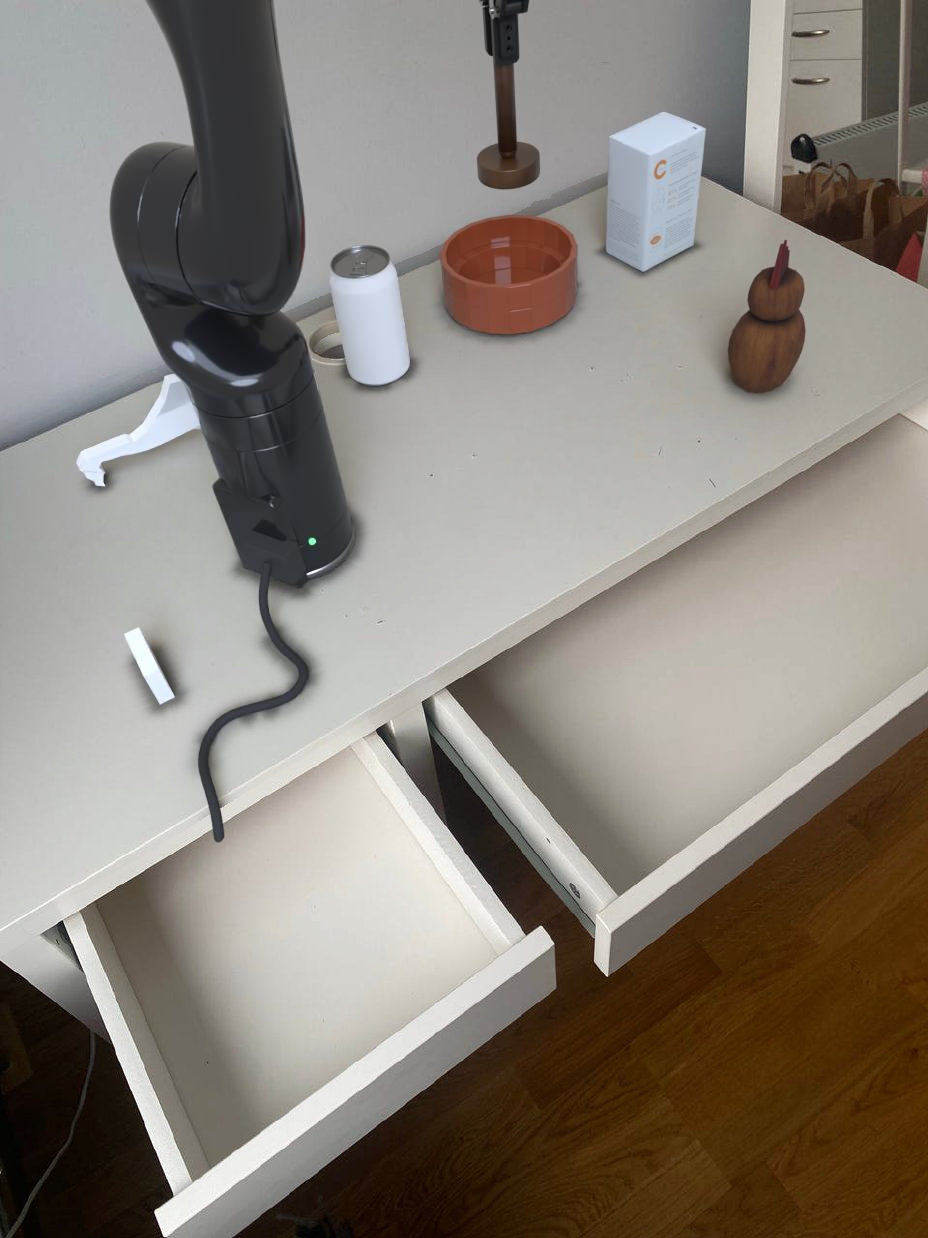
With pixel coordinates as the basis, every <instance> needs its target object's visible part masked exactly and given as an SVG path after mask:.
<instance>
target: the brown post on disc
mask: <svg viewBox="0 0 928 1238" xmlns="http://www.w3.org/2000/svg"><path fill="white" fill-rule="evenodd" d="M492 64H493V65H492V66H493V81H494V82H493V84H494V98H495V99H494V100H495V116H496V117H495V118H496V119H495V120H496V134H497V143H494V144H491V145H488V146H486V147H484V148H482V150H480V151H479V153H478V154H477V156H476V168H477V178H478V180H479V182H480V184H482V185H483V186H485V187H488V188H490V189H494V190H516V189H520V188H524V187H527V186H529V185H531V184H532V183H534V182H536V181H537V180H538V178H539V177H540V174H541V154H540V151H539V149H538V148H537V147H536V146H534V145H533V144H530V143H528V142H525V141H518V133H517V132H518V131H517V130H518V129H517V109H516V87H515V86H516V85H515V84H516V83H515V63H513V64H508V65H504V66H498V65H497V64H496V63H495V62H494V60H493V59H492Z"/></svg>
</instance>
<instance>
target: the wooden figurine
mask: <svg viewBox="0 0 928 1238" xmlns="http://www.w3.org/2000/svg"><path fill="white" fill-rule="evenodd" d="M790 251H791V250H790V249H789V246H788V240H787V239H784V241H783V243H780V244H779V248H778V251H777V256H776V260H775V264H774V266H769V267H766V268H763V269H762V270H760V271H759V272H758V273H757V274H756V276H755V277H754V278H753V280H752V282H751V284H750V286H749V289H748V294H747V300H746V301H747V306H748V310H747V311H746V312H745V313H744V314H742V316H740V318H739V320H738V321H737V322H736V324H735V326H734V327H733V329H732V331H731V334H730V337H729V339H728V345H727V356H728V357H727V359H728V363H729V368H730V372H731V375H732V378H733V381H734V382H735V383H736V384H737V385H738V386H739V387H740V388H742V389H743V390H745V391H747V392H750V393H756V394H757V393H759V394H760V393H767V392H770V391H771V392H772V391H773V390H776V389H777V388H779V387H780V386H782V385H783V384H784V383H785V382H786V381H787V380H788V378H789V377H790V375H791V373H792V372H793V370H794V368H795V367H796V364H797V363H798V361H799V358H800V356H801V355H802V352H803V349H804V345H805V342H806V341H805V340H806V332H807V331H806V323H805V319H804V315H803V313H802V312H801V310H800V308H801V306H802V302H803V299H804V297H805V296H804V295H805V289H806V287H805V281H804V278H803V276H802V275H801V274H800V273H799V272H798V271H797V270H796V269H793V268H791V267H790V265H789V264H790Z"/></svg>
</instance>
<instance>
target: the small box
mask: <svg viewBox="0 0 928 1238" xmlns="http://www.w3.org/2000/svg"><path fill="white" fill-rule="evenodd" d="M706 133H707V128H705V127H703V126H701V125H700V124H697V123H694V122H693V121H690V120H688V119H685V118H682V117H680V116H678V115H674V114H672V113H669V112H668V111H667V112H666V111H661V112H659V113H657V114H655V115H653V116H651V117H648V118H646V119H644V120H642V121H640V122H638V123H635V124H633V125H631V126H629V127H627V128H624V129H623V130H619V131H618V132H616V133H613V134H611V135H609V136H608V160H607V162H608V163H607V194H606V195H607V196H606V231H605V233H606V234H605V252H606V253H607V254H609V255H610V256H612V257H614V258H616V259H618V260H620V261H621V262H623V263H625V264H627V265H629V266H631V267H632V268H634V269H636V270H638V271H641V272H642V273H645V272H646V271H648V270H650V269H652V268H654V267H655V266H657V265H659V264H661V263H663V262H664V261H666V260H668V259H670V258H672V257H674V256H676V255H677V254H679V253H681V252H683V251H685V250H687V249H689V248H691V247H693V246H694V245H695V234H696V226H697V218H698V217H697V215H698V208H699V207H698V206H699V197H700V189H701V181H702V171H703V170H702V169H703V161H704V154H705V153H704V151H705V144H706V143H705V141H706Z"/></svg>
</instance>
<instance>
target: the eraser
mask: <svg viewBox="0 0 928 1238" xmlns="http://www.w3.org/2000/svg"><path fill="white" fill-rule="evenodd" d="M123 636H124V638H125V640H126V643H127V644H128V646H129V649H130V650H131V653H132V655H133V657H134V659H135V662H136V663H137V665H138V668H139V669H140V672H141V674H142V676H143V678H144V680H145V681H146V683H147V685H148V686H149V688H150V690H151V692H152V693H153V695H154V696H155V698H156V700H157V702H158V703H159V705H163V704H164V703H167V702H168V701H170V700H173V699H174V698H176V696H175V694H174V692H173V690H172V688H171V686H170V684H169V682H168V680H167V678H166V676H165V674H164V672H163V670H162V667H161V666H160V663H159V661H158V659H157V658H156V655H155V654H154V652H153V650H152V648H151V646H150V644H149V642H148V641H147V639H146V637H145V636H144V634H143V632H142V630H141V628H140V627H136V628H134V629H132V630H130V631H128V632H125V633H124V634H123Z"/></svg>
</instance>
